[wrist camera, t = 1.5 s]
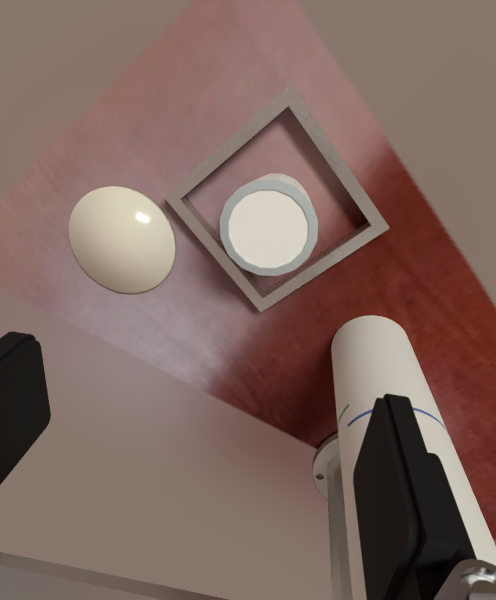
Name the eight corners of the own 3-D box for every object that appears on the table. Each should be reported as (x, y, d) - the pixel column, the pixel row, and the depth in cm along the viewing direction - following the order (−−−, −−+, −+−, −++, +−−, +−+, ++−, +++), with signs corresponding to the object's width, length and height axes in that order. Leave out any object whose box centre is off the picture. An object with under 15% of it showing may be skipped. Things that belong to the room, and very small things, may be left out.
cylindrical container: (425, 349, 38) (591, 698, 16) (366, 392, 41) (434, 737, 19) (372, 300, 37) (471, 605, 14) (315, 348, 40) (322, 663, 17)
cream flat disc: (198, 252, 37) (197, 254, 37) (125, 309, 41) (123, 311, 40) (120, 161, 34) (118, 161, 34) (49, 230, 38) (47, 232, 38)
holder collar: (386, 223, 34) (389, 228, 32) (262, 305, 38) (260, 312, 37) (292, 84, 30) (291, 83, 29) (169, 193, 35) (163, 196, 34)
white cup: (285, 261, 36) (281, 294, 30) (220, 218, 35) (201, 242, 29) (334, 196, 33) (339, 217, 27) (263, 147, 32) (253, 157, 26)
